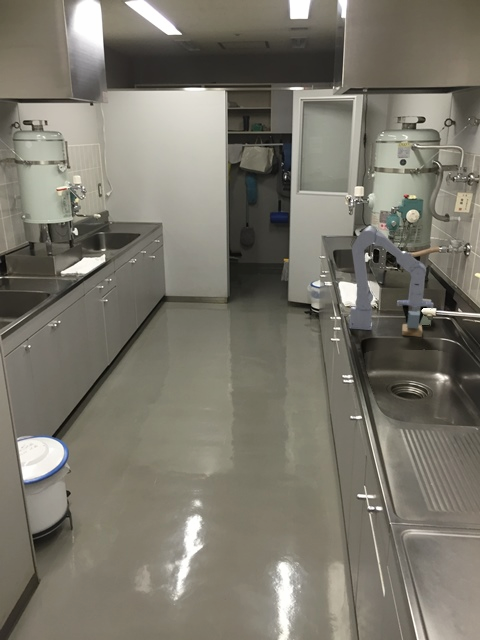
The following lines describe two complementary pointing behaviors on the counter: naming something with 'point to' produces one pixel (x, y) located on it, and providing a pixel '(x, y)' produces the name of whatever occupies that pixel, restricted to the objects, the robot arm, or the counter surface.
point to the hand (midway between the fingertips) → (412, 322)
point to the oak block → (412, 331)
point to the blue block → (413, 319)
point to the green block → (424, 320)
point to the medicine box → (419, 307)
